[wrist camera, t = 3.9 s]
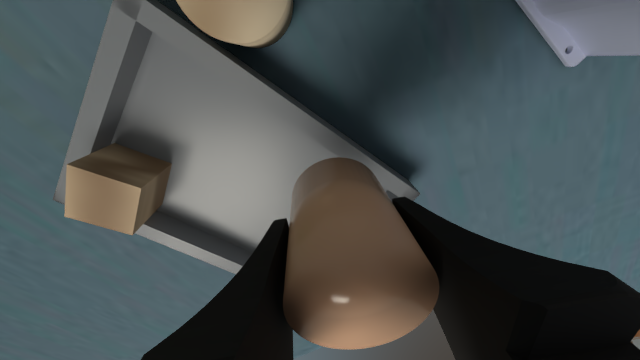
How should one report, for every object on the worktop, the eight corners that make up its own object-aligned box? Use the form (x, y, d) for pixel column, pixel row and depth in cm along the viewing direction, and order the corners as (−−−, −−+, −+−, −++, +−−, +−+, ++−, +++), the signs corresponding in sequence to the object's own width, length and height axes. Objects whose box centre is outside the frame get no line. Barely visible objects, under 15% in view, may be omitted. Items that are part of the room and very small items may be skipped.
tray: (408, 180, 21) (420, 193, 19) (309, 284, 26) (310, 304, 24) (146, -8, 14) (118, -20, 12) (80, 184, 19) (52, 199, 17)
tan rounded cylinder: (398, 184, 13) (472, 279, 7) (347, 245, 15) (375, 361, 9) (322, 140, 12) (340, 215, 6) (275, 213, 14) (255, 326, 8)
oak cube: (172, 163, 19) (141, 188, 15) (162, 203, 20) (132, 235, 16) (114, 142, 18) (66, 164, 14) (108, 187, 19) (64, 216, 15)
